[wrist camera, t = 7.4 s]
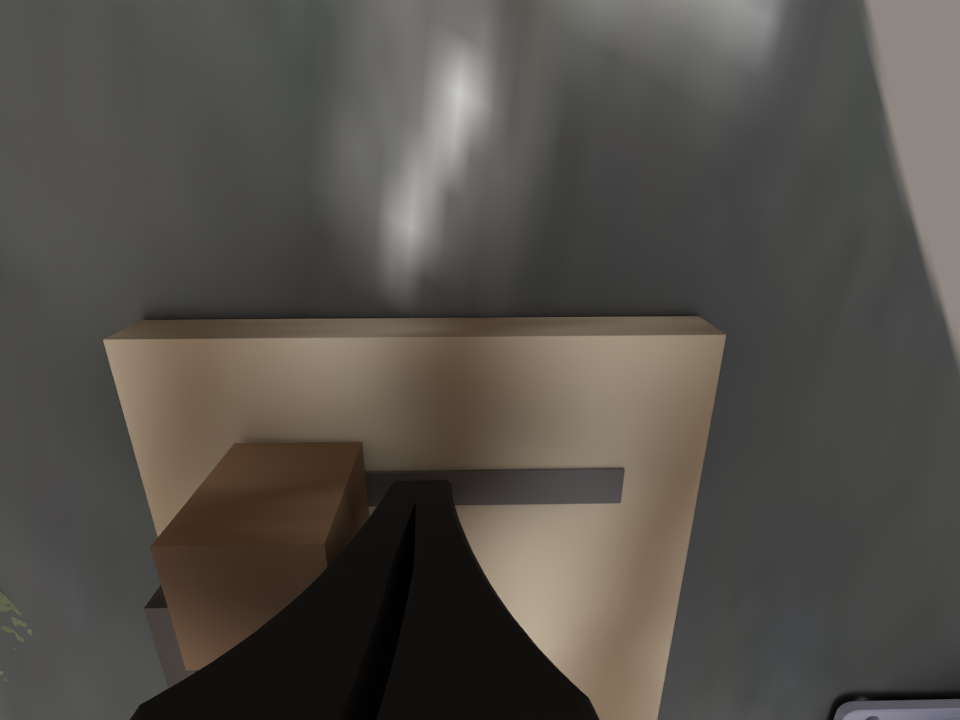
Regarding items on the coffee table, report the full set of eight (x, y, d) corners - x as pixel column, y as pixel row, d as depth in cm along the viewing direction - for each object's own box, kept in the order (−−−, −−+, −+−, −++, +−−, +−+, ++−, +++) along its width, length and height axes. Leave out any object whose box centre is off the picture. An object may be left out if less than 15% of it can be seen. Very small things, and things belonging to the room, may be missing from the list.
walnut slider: (362, 441, 12) (324, 544, 9) (371, 543, 13) (341, 667, 10) (234, 443, 12) (150, 546, 9) (254, 545, 13) (185, 670, 10)
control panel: (699, 315, 13) (760, 359, 11) (627, 772, 20) (653, 873, 17) (142, 319, 13) (53, 364, 10) (255, 781, 20) (220, 885, 17)
